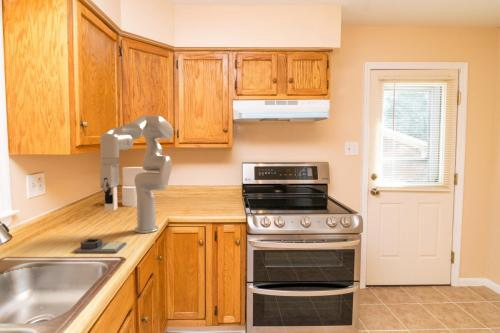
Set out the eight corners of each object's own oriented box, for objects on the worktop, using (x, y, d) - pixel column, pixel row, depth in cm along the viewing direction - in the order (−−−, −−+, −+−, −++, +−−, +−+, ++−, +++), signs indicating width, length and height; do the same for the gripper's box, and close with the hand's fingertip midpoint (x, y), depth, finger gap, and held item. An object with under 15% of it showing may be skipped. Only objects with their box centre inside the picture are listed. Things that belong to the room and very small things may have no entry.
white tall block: (127, 201, 262) (127, 166, 260) (149, 202, 261) (148, 167, 259) (118, 206, 245) (117, 168, 243) (141, 206, 244) (140, 168, 242)
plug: (108, 208, 150) (108, 186, 149) (117, 208, 150) (116, 186, 149) (104, 210, 146) (104, 187, 145) (113, 210, 146) (113, 187, 145)
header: (87, 244, 155) (87, 237, 154) (126, 244, 155) (126, 237, 155) (74, 253, 143) (74, 245, 142) (116, 253, 143) (116, 245, 143)
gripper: (109, 160, 154) (110, 199, 156) (92, 162, 137) (94, 206, 139) (125, 160, 154) (126, 199, 156) (111, 163, 138) (111, 206, 139)
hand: (111, 202), depth 147 cm, fingers closed on plug, 4 cm apart
